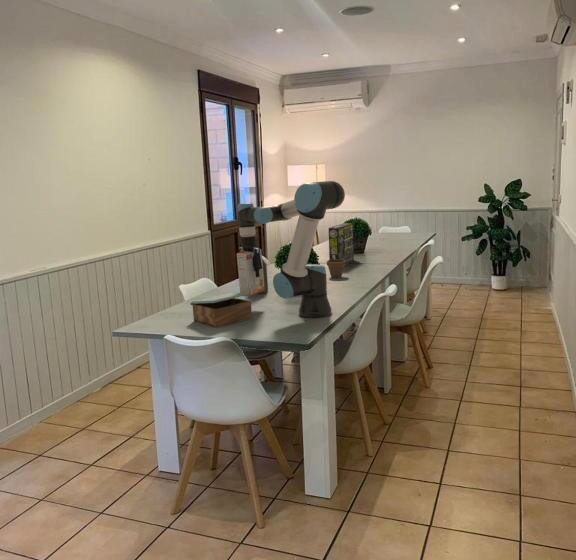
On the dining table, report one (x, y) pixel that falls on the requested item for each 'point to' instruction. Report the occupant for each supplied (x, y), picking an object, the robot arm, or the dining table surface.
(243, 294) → the lid
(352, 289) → the dining table surface
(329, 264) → the flower pot
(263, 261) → the bottle
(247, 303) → the walnut chest
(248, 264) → the cracker box
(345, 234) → the box
